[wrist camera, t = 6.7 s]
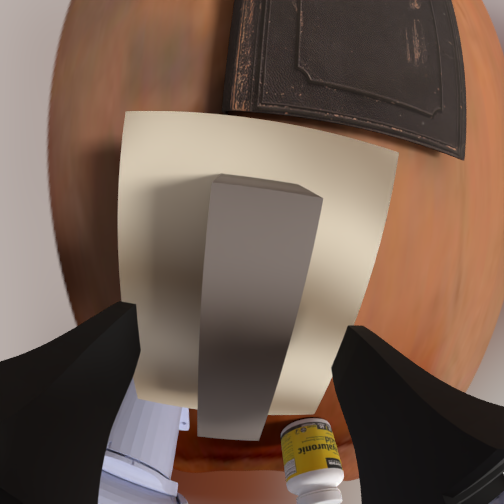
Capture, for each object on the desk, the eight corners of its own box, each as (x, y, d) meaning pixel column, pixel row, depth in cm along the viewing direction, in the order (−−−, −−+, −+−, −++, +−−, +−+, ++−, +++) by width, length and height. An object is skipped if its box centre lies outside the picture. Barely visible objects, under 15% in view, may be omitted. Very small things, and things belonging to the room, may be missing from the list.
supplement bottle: (338, 416, 23) (362, 493, 14) (316, 441, 25) (331, 511, 16) (291, 414, 23) (306, 501, 13) (272, 440, 24) (280, 516, 15)
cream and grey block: (309, 395, 15) (324, 455, 11) (144, 380, 14) (124, 440, 10) (380, 151, 10) (449, 157, 6) (140, 116, 9) (81, 98, 5)
